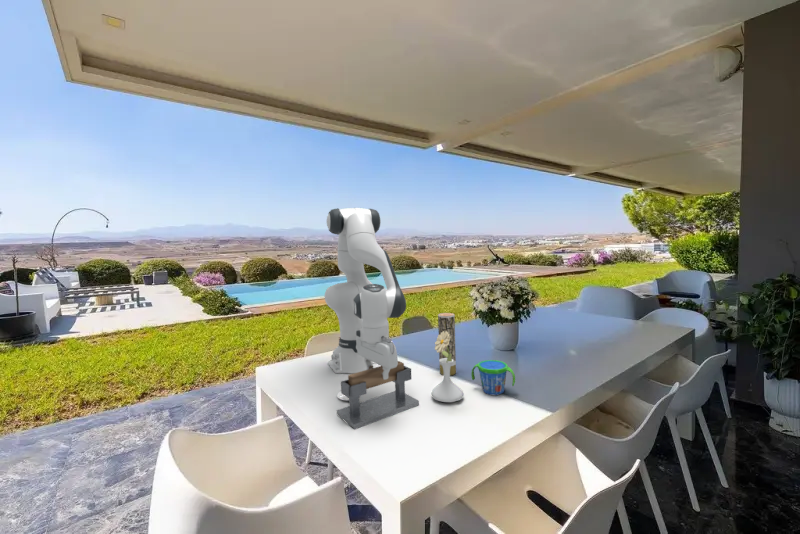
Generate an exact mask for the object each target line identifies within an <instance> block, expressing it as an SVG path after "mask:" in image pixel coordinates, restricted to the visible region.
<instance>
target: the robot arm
mask: <svg viewBox="0 0 800 534" xmlns="http://www.w3.org/2000/svg"><path fill="white" fill-rule="evenodd" d="M326 226H327V229H328V231H329V232H330V233H331V234H333V235H338V238H337V267H338V270H339V271H341V272H342V273H343V274H344V275H345V277H346V281H345V282H340V283H335V284H333V285H331V286H328V287H326V288H327V289H325V292H324V301H325V303H326V305H327V306H328V307H329V308H330V309H331V310H332V311H334V313H335V314H336V316H337V318H338V319H337V320H338V325H339V333H340V334H339V337H338V345H337V347H336V348H335V349H334V350H333V351H332V354H331V356H330V357H331V360H328V361H327V365H328V364H329V365H330V366H329V365H328V366H329V367H330V369H331V370H332V369H333V370H332V371H333V372H334V373H335V374H354V373H358V372H361V371H365V370H368V369H372V368H374V365H373V364H374V363H375V364H376V365H378V366H382V367H383V370H384V371H383V373H381V376H382V378H383V379H384V380H386V379H388V373H389V371H390V369H392V368H396V367H397V365H398V361H399V360H398V352H397V348H396V345H395V344H394V341H393V340H392V339H391V338H390V330H389V328H390V327H389V326H390V325H389V321H388V318H389V319H390V318H391V319H398V318H400V317H401V316H402V315H403V314H404V313H405V311H406V309H407V300H406V297H405V295H404V292H403V290H402V288H401V286H400V284H399V281H398V278H397V275H396V273H395V269H394V267H393V264H392V261H391V258H390V256H389V254H388V251H386V250H385V249H383V248H382V247H381V245H379V243H378V241H377V238H376V233H377V232H378V231H379V230H380V227H381V216H380V213H379V211H378V210H377V209H373V208H364V207H363V208H361V207H349V208H347V207H345V208H333V209H330V210H329V212H328V213H327V216H326ZM364 265H368V266H371V267H374V268H376V269H378V271H380V272H381V273H380V274H382V278H383V280H384V284H385V286H384V285H382V284H378V283H373V282H371V281H370V280H369V278H368V276H367V274H366V271H365V266H364Z"/></svg>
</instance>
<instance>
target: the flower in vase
mask: <svg viewBox="0 0 800 534" xmlns="http://www.w3.org/2000/svg"><path fill="white" fill-rule="evenodd" d="M449 341H450V336H449V334H448V332H447V331H446V332H445V333H444V331H443V332H441V334H440V335H439V334H438V335H437V337H436V341H435V342H434V345H435V346H434V351H436V353H437V354H439V353H440V352H442V354H443V355H444V356H446V357H448V358H442V359H440V360H438V361H440V362H441V364H442V367H443V372H444V375H443V378H442V379H443V380H442V381H441V382H440V383H438V385H436V386H435V387H434V388H432V390H431V393H430V394H431V395H430V396H432V398H433V399H435V400H436V401H439V402H443V403H454V402H457V401H460V400H461V399H462V398H463V397H464V390H462V389H461V387H460V386H458V385H457V384H456V383H454V382H453V381H452V380H451V376H450V367H451V364H452V362H453V361H454V360H453V359H451V354H448V353H449V349H448V347H447V345H449ZM446 348H447V349H448V353H447V352H446V351H445V349H446Z"/></svg>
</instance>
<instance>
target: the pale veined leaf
mask: <svg viewBox="0 0 800 534" xmlns="http://www.w3.org/2000/svg"><path fill="white" fill-rule="evenodd" d="M342 395H343V394H342V393H341V390H340V391H339V392H338V393H337V395H336V396H337V398H338V399H339V400H343V401H345V399H344V398H343V397H342V398H340V396H342ZM346 401H347V402H348V401H349V399H346Z"/></svg>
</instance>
